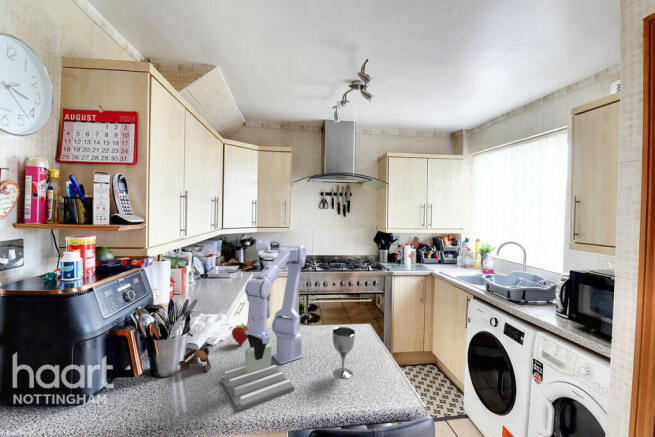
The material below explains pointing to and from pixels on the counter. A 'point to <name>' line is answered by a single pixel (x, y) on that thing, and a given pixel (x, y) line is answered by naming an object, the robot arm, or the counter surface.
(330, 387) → the counter surface
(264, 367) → the mint green upright block
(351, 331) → the wine glass
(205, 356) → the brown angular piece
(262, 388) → the rack
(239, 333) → the strawberry
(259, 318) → the robot arm
